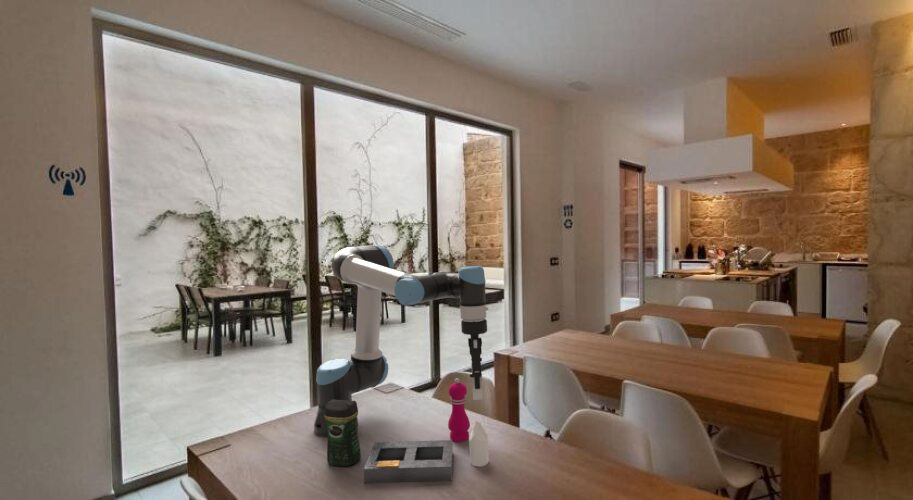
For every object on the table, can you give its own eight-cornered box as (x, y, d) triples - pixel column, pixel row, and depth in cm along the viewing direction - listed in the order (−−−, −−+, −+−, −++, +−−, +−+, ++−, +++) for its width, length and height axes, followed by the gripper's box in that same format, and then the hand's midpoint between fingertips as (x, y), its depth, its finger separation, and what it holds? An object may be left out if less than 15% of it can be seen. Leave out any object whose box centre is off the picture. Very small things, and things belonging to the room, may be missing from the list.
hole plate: (375, 455, 144) (374, 441, 144) (452, 452, 144) (452, 438, 144) (364, 483, 128) (363, 467, 128) (451, 480, 128) (450, 465, 128)
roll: (481, 427, 133) (464, 424, 136) (483, 468, 134) (466, 464, 137) (490, 419, 138) (474, 416, 141) (492, 459, 139) (475, 455, 142)
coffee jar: (364, 456, 144) (361, 397, 143) (351, 469, 136) (348, 407, 135) (337, 453, 147) (334, 395, 146) (322, 465, 139) (319, 404, 138)
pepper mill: (468, 443, 150) (465, 382, 149) (446, 442, 151) (443, 381, 150) (472, 433, 157) (469, 375, 156) (451, 432, 158) (448, 374, 157)
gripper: (488, 327, 123) (492, 406, 124) (484, 311, 148) (487, 377, 149) (460, 328, 123) (464, 407, 124) (461, 312, 148) (464, 378, 149)
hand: (477, 391), depth 136 cm, fingers open, 13 cm apart
